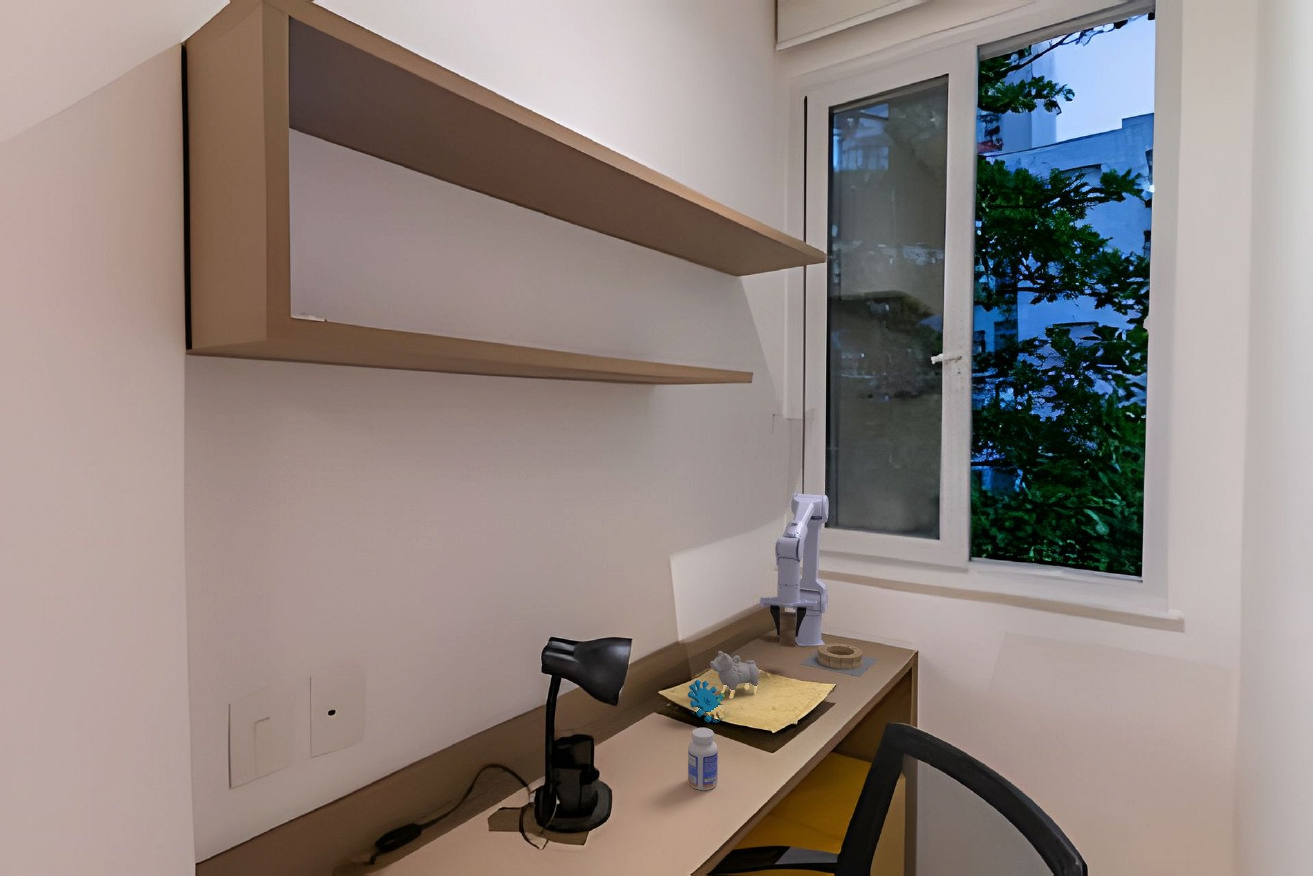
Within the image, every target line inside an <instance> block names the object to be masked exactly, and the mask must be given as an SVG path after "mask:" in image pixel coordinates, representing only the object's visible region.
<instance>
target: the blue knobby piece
mask: <svg viewBox="0 0 1313 876" xmlns="http://www.w3.org/2000/svg"><path fill="white" fill-rule="evenodd" d="M701 685H702V687H701ZM709 685H710V683H709V682H708V681H707V680H704V681H703V682H702V680H698V679H696V680H694V683H691V684H690V685H689V686H688V689H689V690H690V691H689V692H687V697H688V698H690V699H692V701H690V703H689V704H690V707H691V708H692V709H694V708H696V707H698V708H700V709H701V710H700V709H699V710H698V711H697V712H696V714H695V713H694V712H692V711H691V713H692V714H693V715H697V716H698V718H700V717H702V716H703V714H705V713H704V712H711V710H714V708H716V707H718V705H724V704H723V703H721V702H722V701H723V700H724V698H726V697H725V696H726V695H725V693H720V694H719V695H715V693H716V692H717V691H718V690H717V687H715V686H714V685H713V686H711V688H710V689H708V687H709ZM703 719H704V721H705V722H706V723H708V724H710V722H712V723H714V724H717V723H719V722H720V720H719V721H717V720H715V719H713V718H712V716H711V717H710V716H709V715H707V714H706V716H705V717H704V718H703Z"/></svg>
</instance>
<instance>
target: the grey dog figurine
mask: <svg viewBox="0 0 1313 876" xmlns="http://www.w3.org/2000/svg"><path fill="white" fill-rule="evenodd" d="M717 654H718V655H717V656H716V657H715V658H713V659H714V660H711V661H710V662H709V665H710V667H711V669H712V670H713V671H714V672H716V673H717V675H718V679H719V680H720V682H721V685H722V684H723V685H727V686H728V687H727V688H728V689H731V690H735V689H737V687H738V686H739V685H740V684H745V683H750V684H751V685H752V686H753V685H754V686H757V685H758V686H759V679H760V673H761V672H760V670H759V668H758V667H757V663H756V661H755V660H751V659H750V660H749V659H748V660H747V659H746V660H745V662H741V657H740V655H734V656H733V657H731V656H730V655H729V654H728V653H724V652H723V651H722V650H719V651H717ZM735 691H736V690H735Z"/></svg>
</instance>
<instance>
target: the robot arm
mask: <svg viewBox="0 0 1313 876" xmlns="http://www.w3.org/2000/svg"><path fill="white" fill-rule="evenodd" d="M829 503H830V501H829V497H828V496H827V494H808V493H806V494H805V493H797V492H795V493H794V494H793V495H792V497H791V503H790V504H791V505H790V508H791V509H790V510H791V513H792V514H793V519H792V520H790V521H789V522H788V523H787V524H786V527H785V529H784V532H783V534H782V536H781V537H780V538H777V539H776V542H775V547H774V551H775V552H774V553H775V559H776V560H775V564H776V566H777V587H776V588H777V589H776V590H777V591H776V592H777V593H776V594H777V595H776V597H774V596H773V597H772V596H771V597H760V599H759V607H760V608H761V607H769V611H770V614H771V616H772V619H773V621H774V624H775V628H776V634H777V635H776V636H780V612H781V608H788V609H789V608H790V609H792V610H795V611H794V612H796V632H795V644H797V645H798V646H799V647H802V646H803V647H809V646H811V647H813V646H814V647H817V646H818V647H820V646H821V645H824V644H826V643H825V642H824V641H823V640H822V626H823V625H822V619H823V614H825V612H826V611H827V609H828V601H829V600H828V599H829V598H828V596H829V595H828V588H827V586H826V585H827V584H825V583H823V582H822V581H821V580H820V579H819V565H820V564H819V563H820V543H821V540H820V539H821V527H822V524H825V523H828V518H829V506H830V505H829ZM801 561H802V573H801Z"/></svg>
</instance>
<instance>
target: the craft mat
mask: <svg viewBox="0 0 1313 876" xmlns="http://www.w3.org/2000/svg"><path fill="white" fill-rule="evenodd" d="M878 660H879V658H876V657H870V656H866V655H863V663H862V665H861V667H858V668H854V669H837V668H831V667H828V666H825V665H823V664H821V663H820V662H819V661H818V650H817V651H816V652H814V653H813V654H812V655H810V656H809V657H808V658H806V659H805V660H804V661H802V662H801V663H800V665H802V666H803V665H804V666H808V667H813V668H817V669H821V670H826V671H831V672H836V673H840V674H844V675H849V676H853V677H857V678H858V677H859V678H860V677H861V676H862V675H863V674H865V673H866V672H867V671H868V670H869V669H870V668H871V667H872V665H874V664H875V663H876V662H877V661H878Z"/></svg>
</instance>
